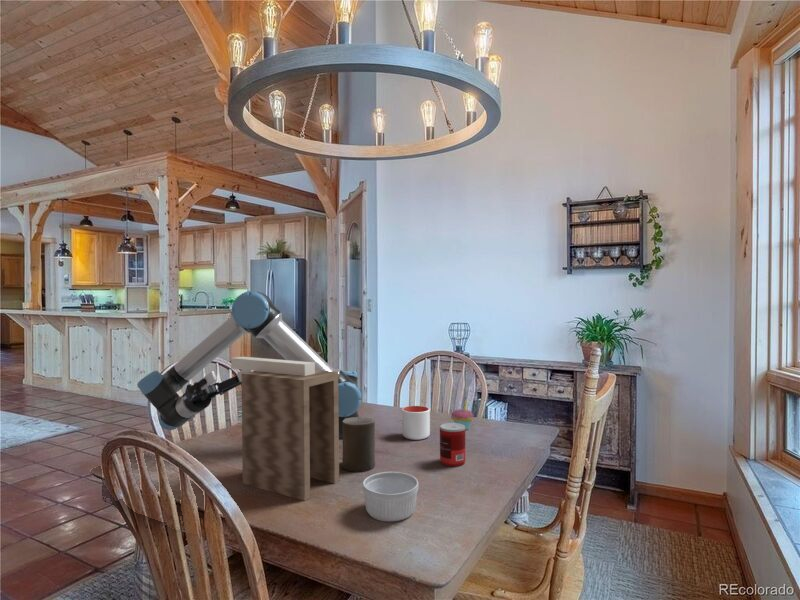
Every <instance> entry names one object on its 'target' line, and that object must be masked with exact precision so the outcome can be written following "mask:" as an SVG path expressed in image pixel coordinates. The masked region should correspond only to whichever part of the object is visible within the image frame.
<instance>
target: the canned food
mask: <svg viewBox="0 0 800 600" xmlns="http://www.w3.org/2000/svg"><path fill="white" fill-rule="evenodd" d="M439 461H440V463H441V464H442V465H443V466H445V467H461V466H463V465H464V464H465V462H466V430H465V426H464V425H462V424H459V423H455V422H446V423H442V424H441V425H439Z"/></svg>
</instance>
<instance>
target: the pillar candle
mask: <svg viewBox="0 0 800 600" xmlns="http://www.w3.org/2000/svg"><path fill="white" fill-rule="evenodd" d="M375 422H376V421H375V419H374V418H372V417H370V416H369V417H367V416H360V415H359V416H358V417H352V418H347V419H345V420H343V439H342V468H343V469H345V470H346V471H349V472H353V473H354V472H355V473H358V472H368V471H370V470H372V469H374V468H375V466H376V440H375V439H376V437H375V436H376V428H375V427H376V425H375V424H376V423H375Z"/></svg>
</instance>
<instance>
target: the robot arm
mask: <svg viewBox="0 0 800 600" xmlns="http://www.w3.org/2000/svg"><path fill="white" fill-rule="evenodd" d="M231 305H232V306H231V312H230V317H229V318H228V319H226V321H224V322H223V323H222V324H220V325H219V326H218V327H217V328H216V329H215V330H213V331H212V333H210V334H209V335H208V336H207V337H205V339H203V340H202V341H201V342H200V343H198V345H196V346H195V347H194V348H192V349H191V350H190V351H189V352H188V353H187V354H186V355H184V356H183V357H182V358H181V359H179V360H178V361H177V362H176V363H175V364H173V366H172V367H170V368H169V369H168V370H167V371H166V372H164V373H163V374H162V373H161V372H159V371H158V370H153V371H152V372H149V373H148V374H147V375H146V376H144V377H142V378H141V379H140V380H139V381H138V382H137V388H138V389H139V390H140V392H141V394H142V395H144V397H145V398H146V399H147V400H148V401H149V402H150V403H151V405H152V406H153V407H154V408H155V409H156V410H157V412H158V413H159V415H158V419H157V420H158V422H159V425H160V427H161V428H163V429H164V430H168V431H174V430H176V429H178V428H180V427H182V426H183V425H184V424H186V423H187V422H188V421H190V420H191V419H195V418H196V415H198V414H199V413H201V412H202V411H203V410H205V409H206V408H208V407H209V406H210V405H211V402H212V399H213V398H215V397H216V396H218V395H220V396H222V395H224V394H226V393H227V392H229V391H231V390H233V389H235V388H237V387H238V386H240V385H241V386H242V373H247V372H252V370H242V369H241V371H238V372H237V373H236V375H234V376H232V377H230V378H228V379H225V380H223V381H221V382H216V381H217V376H216V373H215V371H213V370H212V371H210V372H209V373H206V375H205V376H203V377H202V378H201V379H200V380H199V381H196V382H194V383H193V384H191V383H190V384H189V382H190V381H191V380H192V379H193V378H195V377H196V376H197V375H198V374H199V373H200V372H201V371H202V370H204V369H205V368H206V367H207V366H208V365H210V364H211V363H212V362H213V361H214V360H216V358H218V357H219V356H220V355H221V354H222V353H224V352H225V351H226V350H227V349H228V348H229V347H231V346H232V345H233V344H234V343H236V342H237V340H239V339H240V338H241V337H242V336H243V335H245V334H252V336H253V337H255V338H256V339H264V340H265V341H266V342H267V343H268V344H269V345H270V346H271V347H272V348H273V349H274V350H275V351H276V352H277V353H278V354H279V355H281V356H282V358H283V359H284V360H291V361H303V362H315V370H322V371H333V372H338V405H339V440H343V420H345V419H347V418H352V417H358V416H359V417H360V414H359V411H358V410H359V408H360V407H361V404H362V391H361V389H360V388H359V385H358V379H359V377H358V373H357V371H355V370H342V369H341V368H334V367H332V366H331V365H330V364H329V363H328V362H326V360H324V358H323V357H321V356H320V355H319V354H318V352H316V351H315V350H314V349H313V347H311V346H310V345H309V344H308V343H307V342H306V341H305V340H304V339H303V338H302V337H300V335H299V334H298V333H296V331H294V329H292V328H291V326H289V325H288V324H287V323H286V322H285V321H284V320H283V313H282V312H281V310H279V309H278V308H277V307H276V306H275V305H274V304H273V302H272V300H271V299H270V297H269V296H268V295H266V294H265V293H262V292H259V291H254V290H249V291H245V292H242V293H241V294H239V295H237V297H236V298H235V299H234V301H233V302H232V304H231ZM186 384H187V385H186ZM185 385H186V388H185V391H184V393H183V394H182V395H181V396H180V395H179V394H178V393H177V392H179V391H181V390H182V389H183V388H184V386H185Z"/></svg>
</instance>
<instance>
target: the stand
mask: <svg viewBox="0 0 800 600" xmlns="http://www.w3.org/2000/svg"><path fill="white" fill-rule="evenodd" d="M241 428H242V429H241V434H242V435H241V436H242V437H241V439H242V442H241V443H242V446H241V448H242V484H243V485H245V486H249V485H250V487H254V488H257V489H261V490H263V491H268V492H271V493H275V494H279V495H282V496H286V497H288V498H289V497H291V498H293V499H296V500H301V501H307V500H309V499H310V498H311V479H313V478H314V480H317V479H318V481H321V480H322V481H323V482H325V481H326V483H330V484H337V483H338V482H340V439H339V405H338V372H333V371H322V370H315V374H311V375H306V376H301V375H291V374H282V373H272V372H262V371H252V372H247V373H242V384H241ZM322 481H321V482H322Z"/></svg>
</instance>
